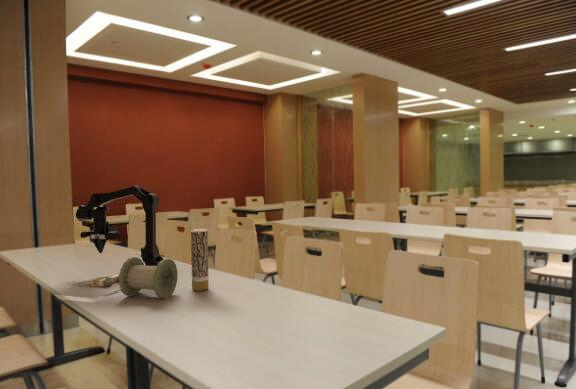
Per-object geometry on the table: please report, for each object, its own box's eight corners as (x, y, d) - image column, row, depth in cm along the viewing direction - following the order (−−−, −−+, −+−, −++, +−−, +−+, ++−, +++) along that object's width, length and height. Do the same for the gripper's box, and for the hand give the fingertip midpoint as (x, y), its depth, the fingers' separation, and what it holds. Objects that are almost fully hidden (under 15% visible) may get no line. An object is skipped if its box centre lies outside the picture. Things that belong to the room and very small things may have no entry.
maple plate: (121, 280, 190) (120, 275, 190) (102, 286, 180) (102, 280, 180) (110, 279, 192) (110, 274, 192) (91, 285, 182) (91, 279, 182)
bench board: (132, 283, 191) (132, 272, 190) (108, 292, 177) (107, 280, 176) (97, 280, 197) (97, 269, 197) (71, 288, 183) (70, 276, 183)
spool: (177, 292, 175) (177, 256, 174) (157, 303, 160) (156, 263, 160) (142, 290, 179) (141, 254, 179) (119, 300, 165) (118, 261, 164)
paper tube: (204, 291, 175) (203, 231, 174) (189, 291, 176) (188, 230, 175) (211, 287, 182) (210, 229, 181) (196, 287, 183) (194, 228, 182)
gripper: (127, 218, 205) (128, 251, 206) (97, 218, 211) (97, 249, 212) (110, 221, 195) (111, 255, 195) (79, 220, 201) (80, 253, 201)
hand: (100, 253), depth 201 cm, fingers closed
